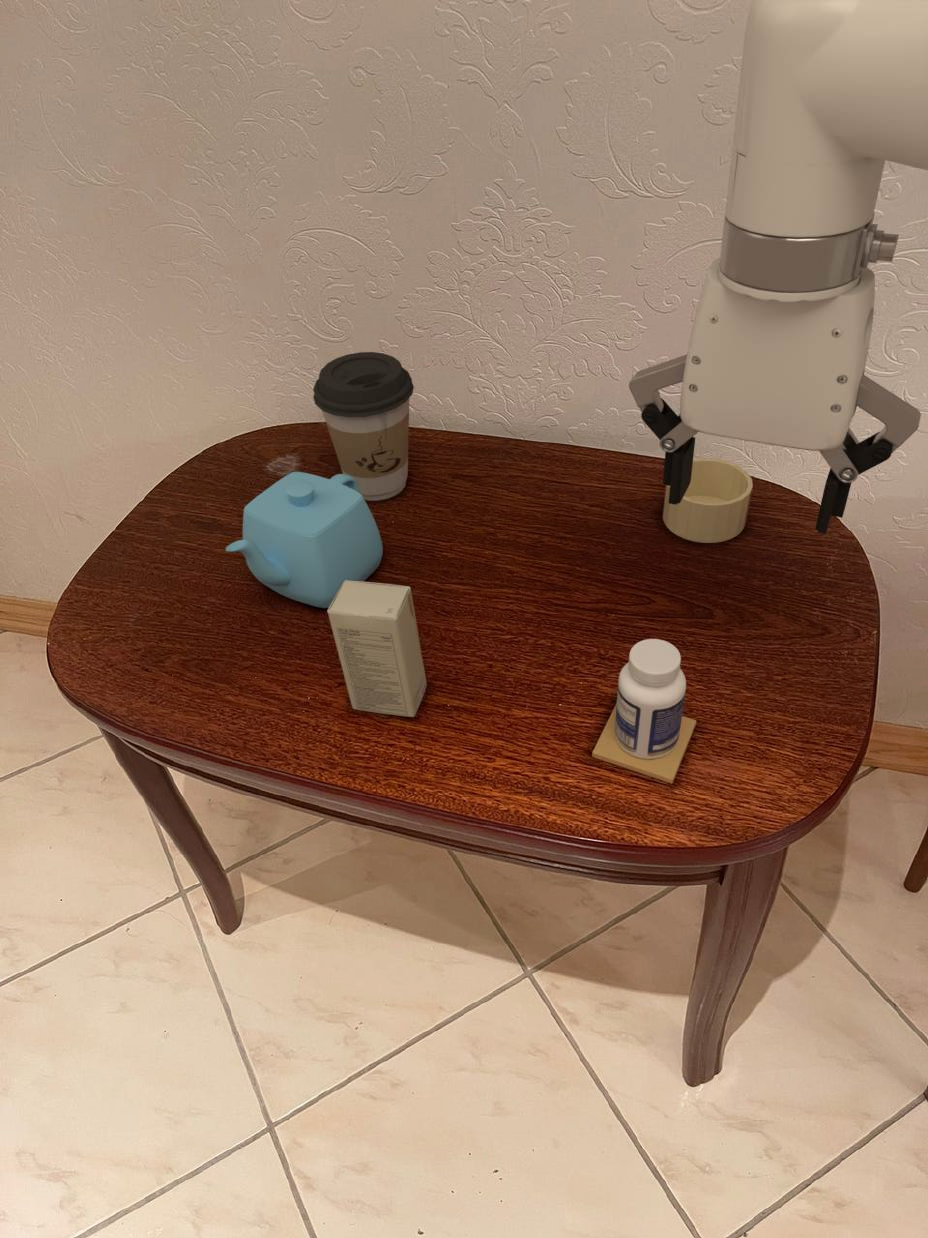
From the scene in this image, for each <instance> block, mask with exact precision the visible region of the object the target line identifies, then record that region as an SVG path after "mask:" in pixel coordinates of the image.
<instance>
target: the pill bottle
mask: <svg viewBox="0 0 928 1238" xmlns="http://www.w3.org/2000/svg"><path fill="white" fill-rule="evenodd" d="M628 655H629V656H628V662H627V663H625V665H624V666H623V667H622V668H621V669H620V671H619V675H618V680H617V681H618V683H617V693H616V695H617V697H616V703H617V707H616V720H615V737H616V740H617V742H618V744H619V745H620V747H621V748H622V749H623V750H624V751H626V752H627V753H629V754H630V755H632V756H635V757H638V758H642V759H656V758H660V757H663V756H666V755H667V754H669V753H670V752H671V751H672V750H673V749H674V748H675V746H676V745H677V742H678V738H679V733H680V726H681V719H682V716H683V711H684V705H685V698H686V691H687V680H686V676H685V673H684V672H683V670H682V669H681V663H682V656H681V654H680V651H679V649H678V648H677V647H676V646H674V644H672V643H670V642H669V641H667V640H663V639H659V638H647V639H643V640H640V641H638V642H637V643H635V644H634V645H633V646H632V647H631V649H630V650H629V654H628Z"/></svg>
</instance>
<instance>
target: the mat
mask: <svg viewBox="0 0 928 1238" xmlns="http://www.w3.org/2000/svg"><path fill="white" fill-rule="evenodd" d="M616 707H617V702H615V705H614V707H613V709H612V712H611V714H610V716H609V718H608V719H607V722H606V724H605V726H604V728H603V730H602V732H601V734H600V736H599V738H598V740H597V742H596V743H595V745H594V748H593V750H592V753H591V757H592V758H594V759H597V760H600V761H604V762H606V763H609V764H611V765H615V766H618V767H621V768H623V769H627V770H629V771H633V772H636V773H639V774H642V775H645V776H647V777H650V778H653V779H656V780H660V781H662V782H665V783H668V784H672V785H673V783H674V781H675V778H676V776H677V773H678V771H679V769H680V766H681V763H682V761H683V758H684V756H685V753H686V751H687V749H688V746H689V743H690V740H691V739H692V736H693V734H694V730H695V729H696V726H697V720H696V719H694V718H690V717H687V716H683V715H682V719H681V726H680V733H679V738H678V742H677V745H676V746H675V748H674V749H673V750H672V751H671V752H670V753H669V754H667V755H666V756H663V757H660V758H656V759H642V758H638V757H635V756H632V755H630V754H629V753H627V752H626V751H624V750H623V749H622V748H621V747H620V745H619V744H618V742H617V740H616V737H615V720H616Z"/></svg>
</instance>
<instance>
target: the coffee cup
mask: <svg viewBox="0 0 928 1238" xmlns="http://www.w3.org/2000/svg"><path fill="white" fill-rule="evenodd" d="M414 388H415V386H414V384H413V379H412V377H411V374H410V373H409V371H408V370H407V369H406V368H404V367H403V365H402V364H401V361H400V360H398V359H397V358H396V357H394V356H392V355H389V354H386V353H383V352H376V351H359V352H354V353H348V354H345V355H342V356H339V357H336V358H334V359H333V360H331V361H329V362H327V363H326V364H325V365H324V366H322V368H321V369H320V372H319V374H318V379H317V380H316V381H315V383H314V386H313V389H312V391H313V402H314V405H315V406H316V407H317V408H319V409H320V411H321V412H322V415H323V418H324V421H325V424H326V427H327V430H328V433H329V437H330V440H331V442H332V446H333V448H334V451H335V454H336V457H337V460H338V464H339V466H340V469H341V472H342V474H346V475H349V476H351V477H353V478H354V479H355V480H356V482H357V485H358V493H360V494H361V495H362V496H363V498H364V500H365V501H370V502H371V501H373V502H374V501H383V500H387V499H390V498H392V497H395V496H397V495H399V494H400V493H401V492H403V491H404V489H405V487H406V484H407V479H408V475H409V473H408V472H409V436H410V435H409V433H410V398H411V396H413V393H414Z"/></svg>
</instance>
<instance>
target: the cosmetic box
mask: <svg viewBox="0 0 928 1238" xmlns="http://www.w3.org/2000/svg"><path fill="white" fill-rule="evenodd" d="M326 612H327V615H328V620H329V623H330V626H331V630H332V634H333V638H334V639H333V640H334V642H335V646H336V650H337V654H338V657H339V662H340V665H341V670H342V673H343V677H344V681H345V686H346V689H347V693H348V697H349V700H350V705H351V708H352V709H353V710H357V711H361V712H369V713H375V714H376V713H377V714H384V715H391V716H399V717H408V718H415V717H416V714H417V713H418V710H419V708H420V704H421V703H422V700H423V698H424V695H425V692H426V689H427V686H428V683H427V678H426V671H425V666H424V660H423V653H422V648H421V641H420V636H419V629H418V623H417V618H416V612H415V607H414V601H413V595H412V588H411V587H410V586H407V585H400V584H392V583H381V582H373V581H372V582H371V581H364V582H361V581H348V580H345V581H344V582H343V584H342V586H341V588H340V589H339V591H338V593H337V594H336V596H335V598H334V599H333V601H332V603H331V605H330V607H329V608H327V611H326Z"/></svg>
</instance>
